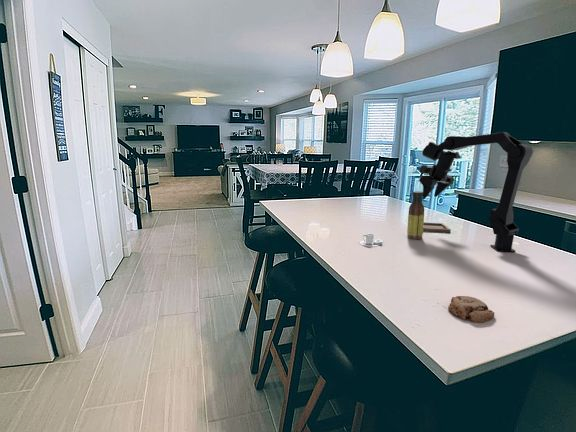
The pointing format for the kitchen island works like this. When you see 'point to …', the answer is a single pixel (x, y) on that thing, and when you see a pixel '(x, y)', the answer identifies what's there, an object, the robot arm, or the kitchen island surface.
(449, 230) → the square brown tray
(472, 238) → the kitchen island surface
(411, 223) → the sauce bottle
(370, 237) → the teacup and saucer
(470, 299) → the cookie
